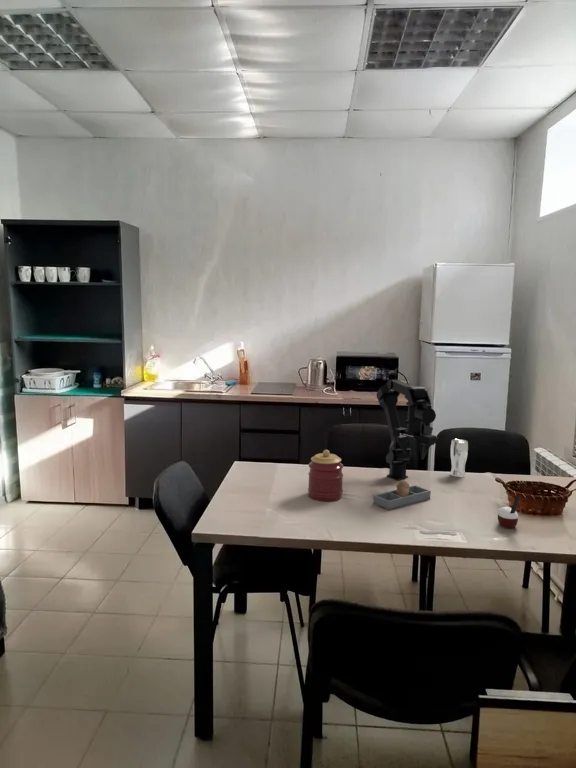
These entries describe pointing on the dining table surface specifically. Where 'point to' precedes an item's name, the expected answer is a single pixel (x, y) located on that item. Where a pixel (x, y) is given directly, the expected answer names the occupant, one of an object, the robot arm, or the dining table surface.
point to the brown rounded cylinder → (402, 489)
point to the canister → (325, 477)
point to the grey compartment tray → (401, 498)
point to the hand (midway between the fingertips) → (413, 457)
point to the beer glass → (458, 457)
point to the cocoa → (509, 514)
